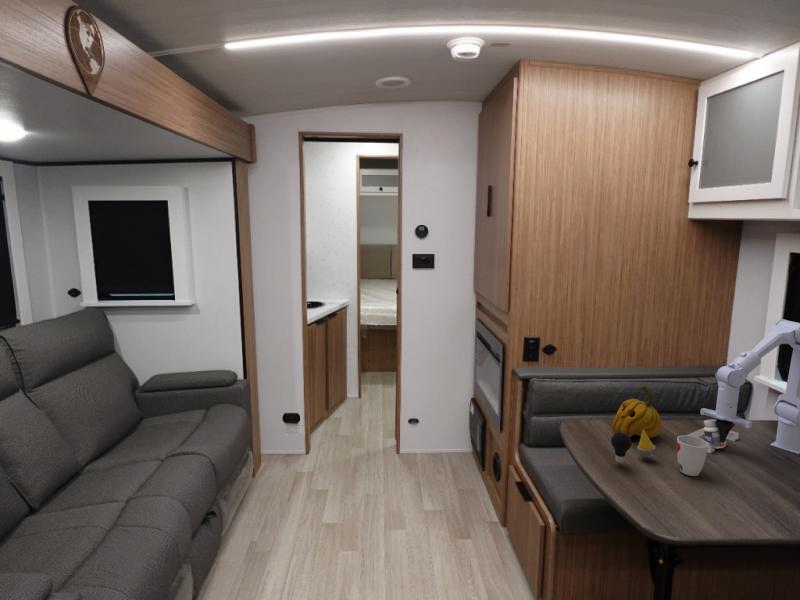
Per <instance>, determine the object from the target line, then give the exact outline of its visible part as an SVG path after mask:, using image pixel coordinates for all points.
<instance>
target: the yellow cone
mask: <svg viewBox="0 0 800 600" xmlns="http://www.w3.org/2000/svg"><path fill="white" fill-rule="evenodd" d="M650 439H651V438H649V437H648V436H647V435H646V432H645V431H644V429H643V431H642V435H641V437H640V439H639V442H638V445H637V446H636V449H637V452H638V454H639V455H640V456H642V457H645V458H647V459H648V458H649V456H651V455H653V454H655V452H656V450H657V448H656V445H654V444H653V443H652V441H651V440H650Z"/></svg>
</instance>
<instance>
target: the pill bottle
mask: <svg viewBox="0 0 800 600" xmlns="http://www.w3.org/2000/svg"><path fill="white" fill-rule="evenodd" d="M715 421H717V419H705V420H703V424H704V427H703V428H704V429H703V430H704V434H705V439H706V441H707V442H710V443H713V444H715V450H716V449H717V450H718V449H723V448H725V447H726V446H725V443H724V442H723V443H722V442H720V434H719V430H718V428H717V426H716V424H715Z"/></svg>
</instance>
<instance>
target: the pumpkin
mask: <svg viewBox="0 0 800 600" xmlns="http://www.w3.org/2000/svg"><path fill="white" fill-rule="evenodd" d="M638 388H639V389H640V390H641V391H642V392H644V393H645V394H646V395H647V396H648V398H649V399H648V400H646V402H645V401H642V400H640V399H637V398H630V399H627V400H624V401H623V402H622V403H621V405H620V407H619V408H618V410H617V411H616V414H615V416H614V418H613V421H612V423H611V429H612V432H613V433H614V434H615V433H618V432H621V433H625V434H627V435H628V436H629V437H630V438H631V437H633V436H634V435H637V436H639V437H640V438H641V435H642V431H643V429H644V431H645V432H646V435H647V436H648V437H649V439H652V438H655V437H656V436H657V435H659V434H660V431H661V429H662V418H661V417H660V416H661V415H659V412H658V411H657V410H656V409H655V408H654V407H653V405H652V403H654V401H655V395H654V393H653V392H652V391H651V390H650V389H649V388H648V387H647V386H646V385H645V384H644V383H640V384H639V385H638Z"/></svg>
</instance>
